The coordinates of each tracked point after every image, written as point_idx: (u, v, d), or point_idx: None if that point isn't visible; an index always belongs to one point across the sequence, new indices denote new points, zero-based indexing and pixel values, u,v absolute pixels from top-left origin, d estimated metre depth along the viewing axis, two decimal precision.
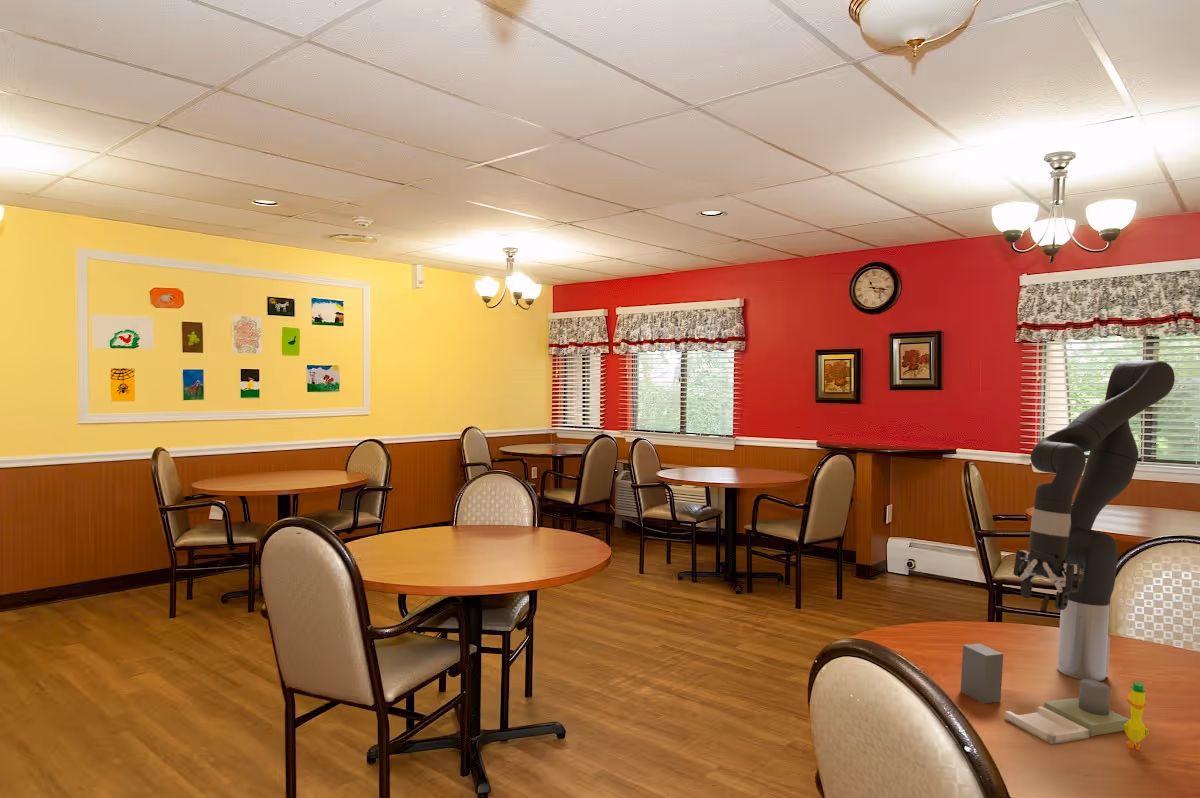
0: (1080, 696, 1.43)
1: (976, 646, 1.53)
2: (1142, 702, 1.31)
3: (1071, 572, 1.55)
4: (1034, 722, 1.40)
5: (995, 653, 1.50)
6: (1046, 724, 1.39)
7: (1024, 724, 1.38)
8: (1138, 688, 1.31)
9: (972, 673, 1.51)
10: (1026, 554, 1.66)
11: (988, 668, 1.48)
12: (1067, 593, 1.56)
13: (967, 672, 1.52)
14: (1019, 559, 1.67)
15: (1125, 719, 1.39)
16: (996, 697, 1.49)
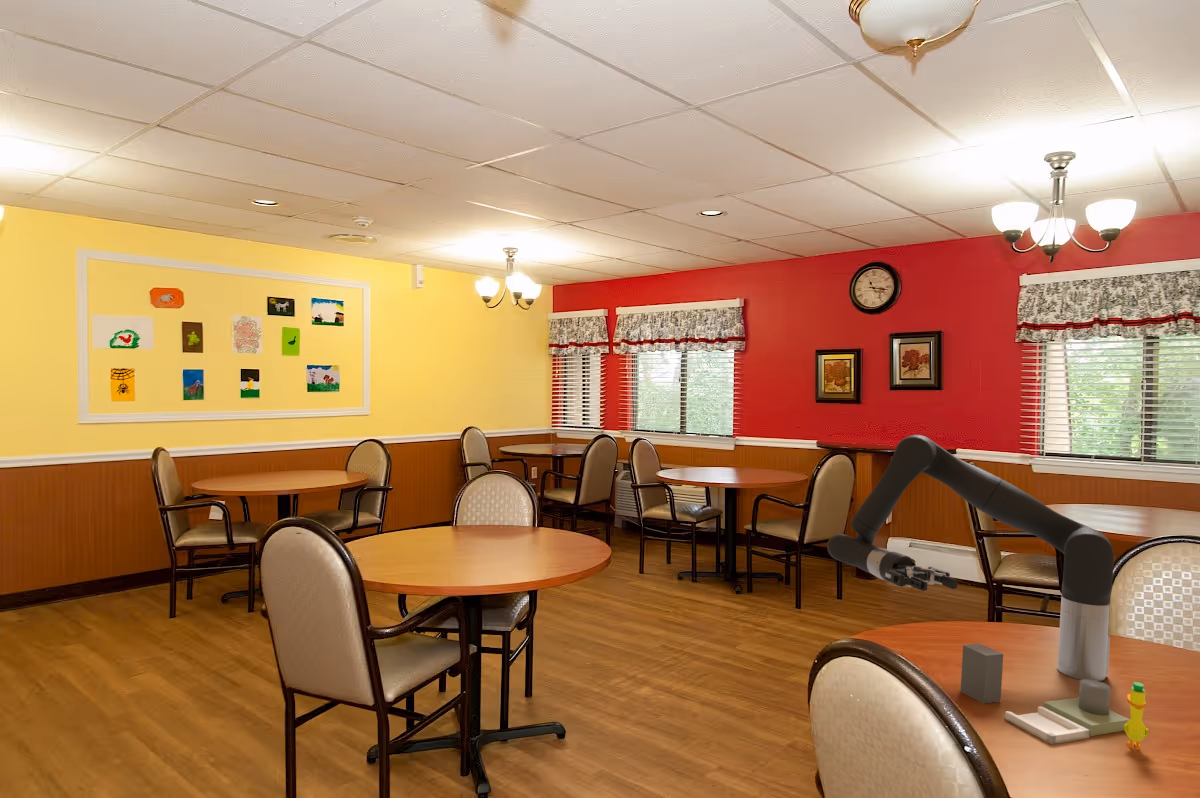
0: (1080, 696, 1.43)
1: (976, 646, 1.53)
2: (1142, 702, 1.31)
3: (889, 580, 1.69)
4: (1034, 722, 1.40)
5: (996, 653, 1.50)
6: (1046, 724, 1.39)
7: (1024, 724, 1.38)
8: (1138, 688, 1.31)
9: (972, 673, 1.51)
10: None
11: (988, 668, 1.48)
12: (909, 581, 1.64)
13: (967, 672, 1.52)
14: None
15: (1125, 719, 1.39)
16: (996, 697, 1.49)
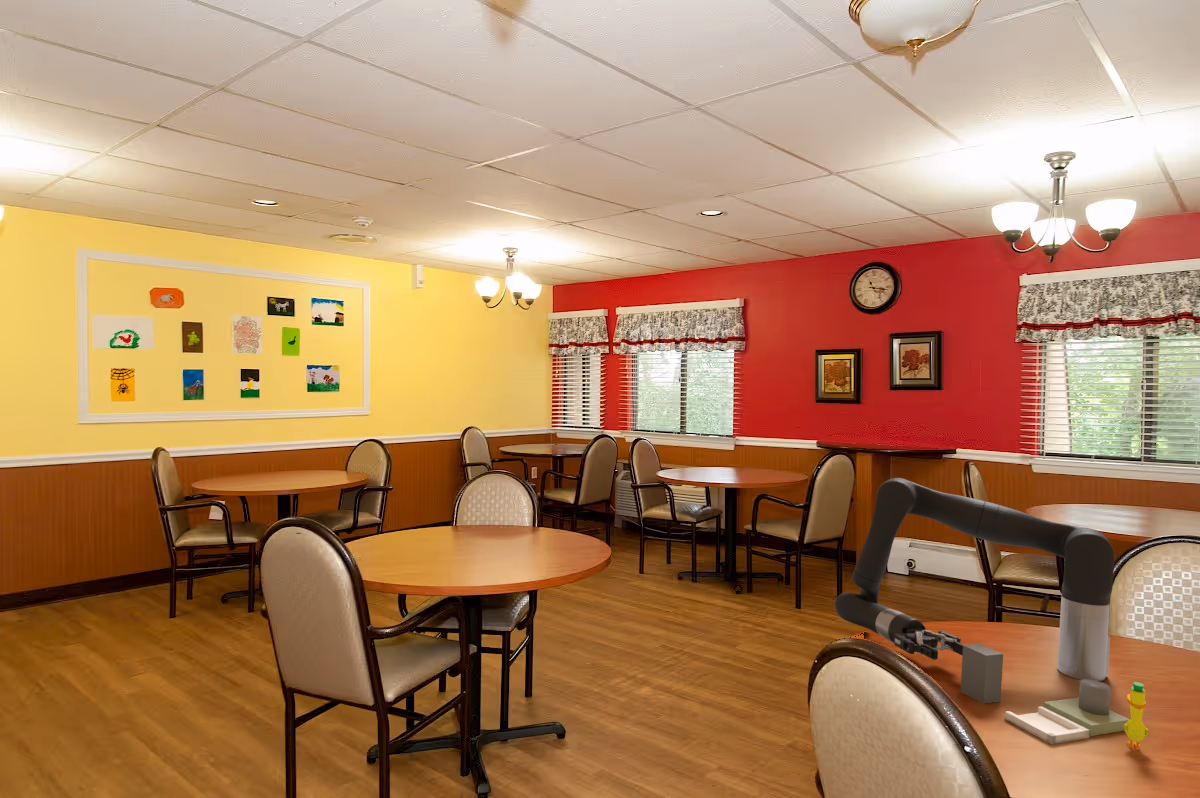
0: (1080, 696, 1.43)
1: (976, 646, 1.53)
2: (1142, 702, 1.31)
3: (898, 646, 1.65)
4: (1034, 722, 1.40)
5: (996, 653, 1.50)
6: (1046, 724, 1.39)
7: (1024, 724, 1.38)
8: (1138, 688, 1.31)
9: (972, 673, 1.51)
10: None
11: (988, 668, 1.48)
12: (919, 648, 1.61)
13: (967, 672, 1.52)
14: None
15: (1125, 719, 1.39)
16: (996, 697, 1.49)
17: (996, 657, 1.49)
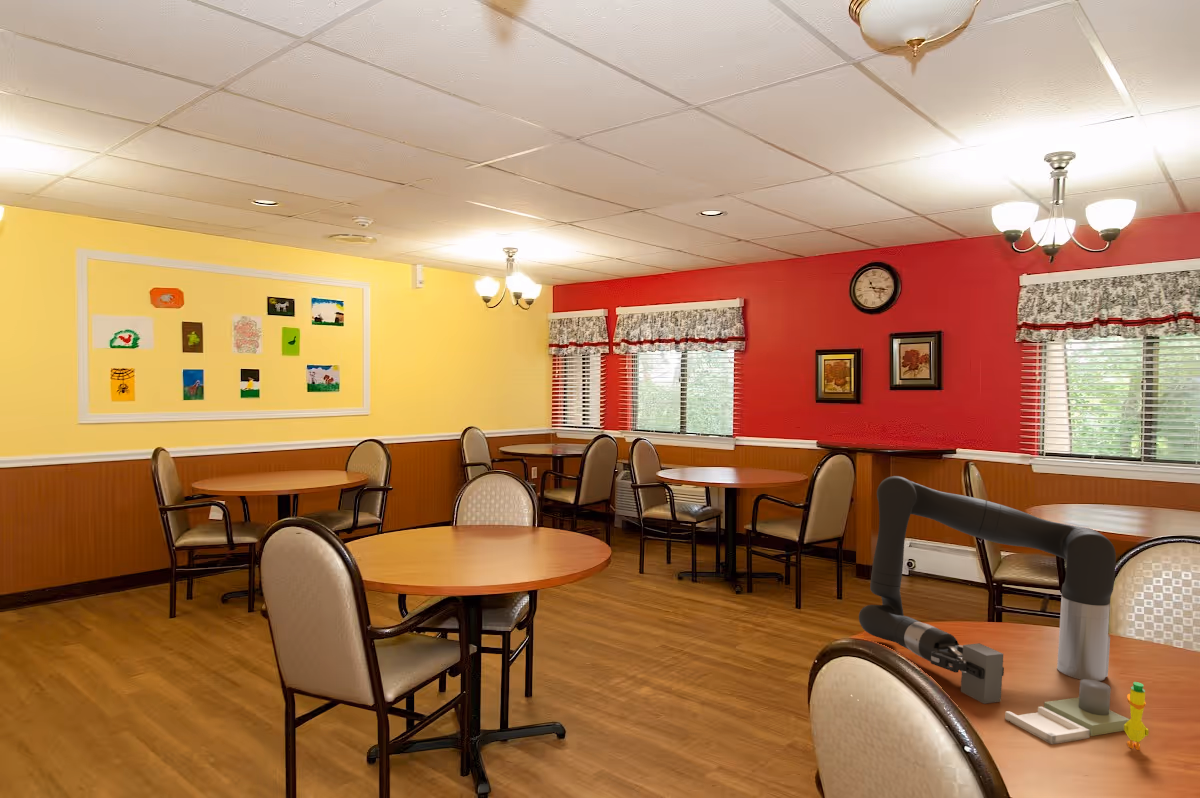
0: (1080, 696, 1.43)
1: (976, 646, 1.53)
2: (1142, 702, 1.31)
3: (937, 665, 1.55)
4: (1034, 722, 1.40)
5: (996, 653, 1.50)
6: (1046, 724, 1.39)
7: (1024, 724, 1.38)
8: (1138, 688, 1.31)
9: None
10: None
11: (988, 668, 1.48)
12: (964, 666, 1.51)
13: None
14: None
15: (1125, 719, 1.39)
16: (996, 697, 1.49)
17: (996, 657, 1.49)
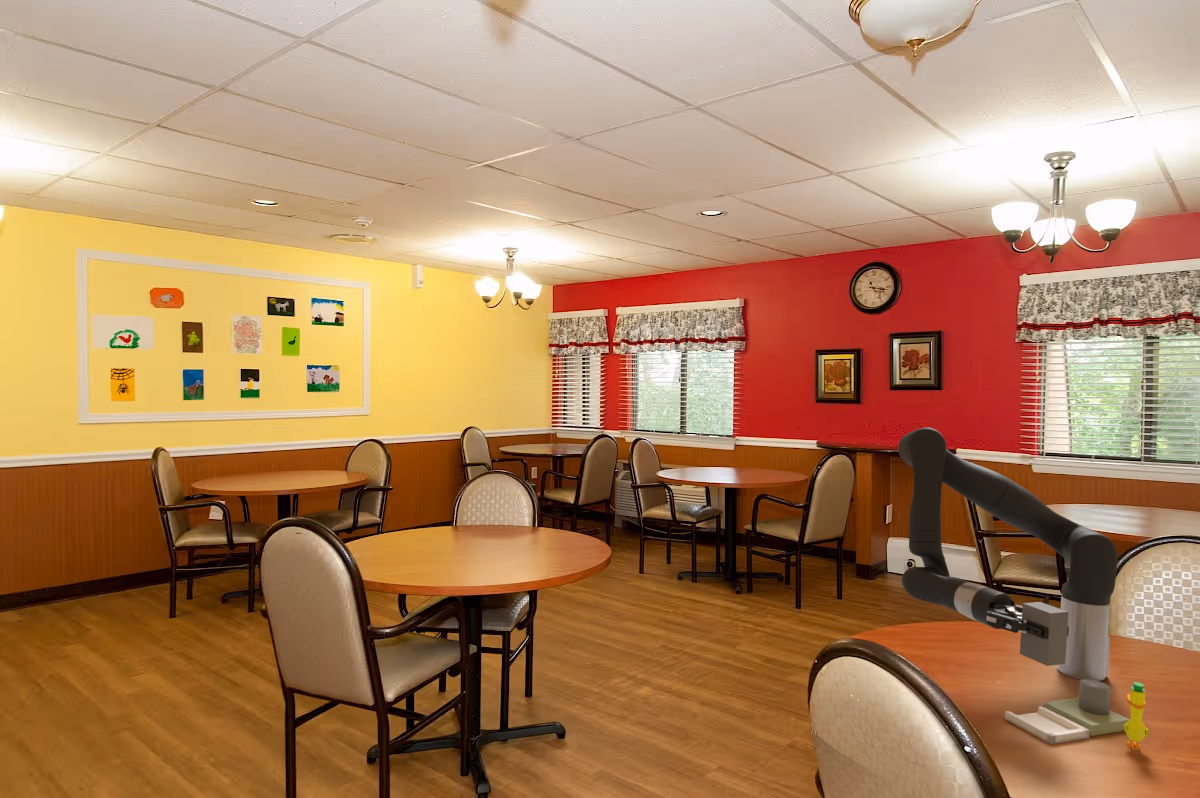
0: (1080, 696, 1.43)
1: (1037, 604, 1.41)
2: (1142, 702, 1.31)
3: (994, 625, 1.43)
4: (1034, 722, 1.40)
5: (1060, 611, 1.37)
6: (1046, 724, 1.39)
7: (1024, 724, 1.38)
8: (1138, 688, 1.31)
9: None
10: None
11: (1052, 627, 1.36)
12: (1024, 626, 1.39)
13: None
14: None
15: (1125, 719, 1.39)
16: (1060, 659, 1.37)
17: (1061, 615, 1.36)
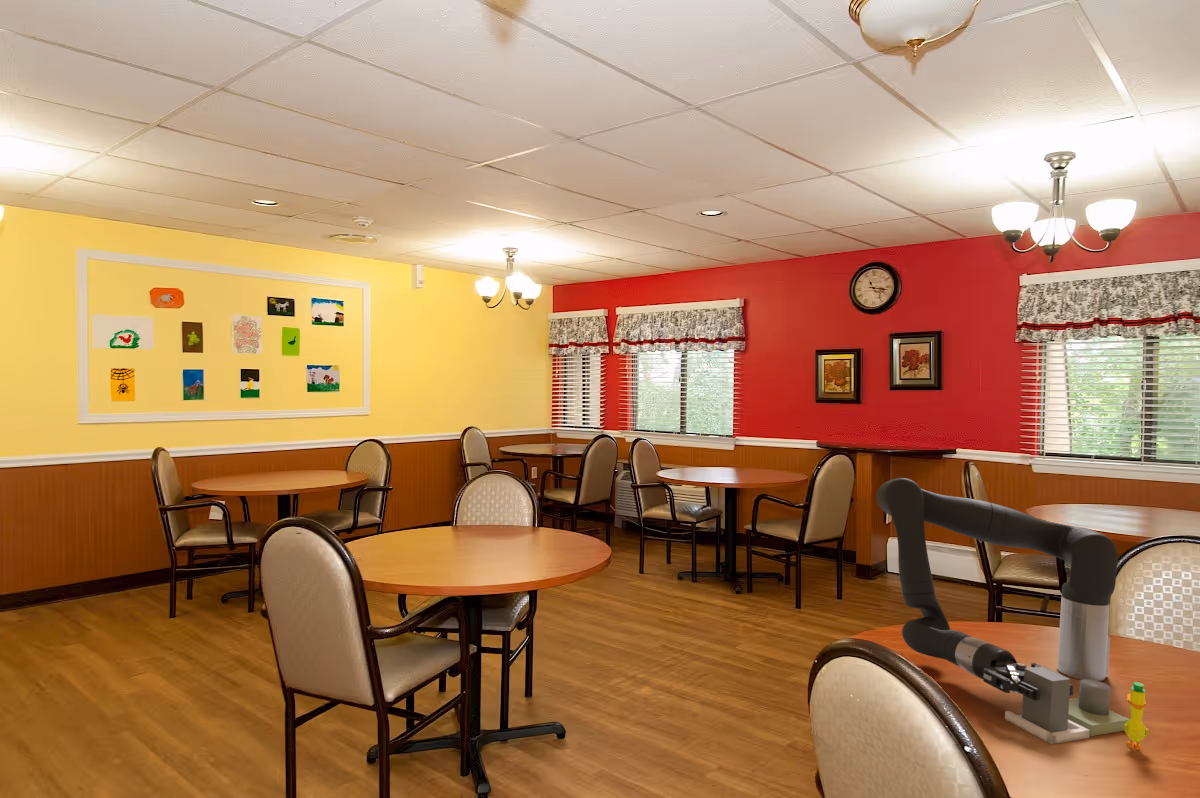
0: (1080, 696, 1.43)
1: (1039, 670, 1.40)
2: (1142, 702, 1.31)
3: (989, 683, 1.43)
4: None
5: (1062, 678, 1.37)
6: None
7: (1024, 724, 1.38)
8: (1138, 688, 1.31)
9: None
10: None
11: (1054, 695, 1.35)
12: (1016, 686, 1.39)
13: (1029, 698, 1.40)
14: None
15: (1125, 719, 1.39)
16: (1063, 726, 1.36)
17: (1063, 683, 1.36)
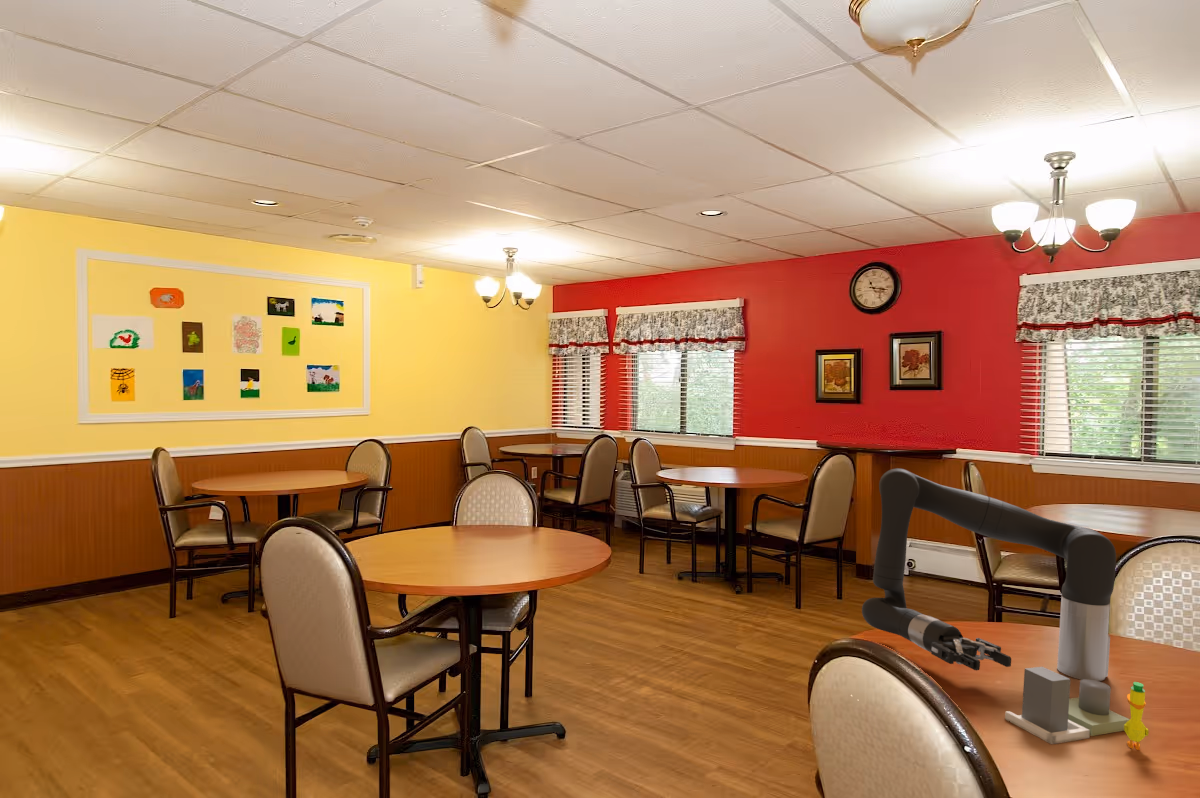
0: (1080, 696, 1.43)
1: (1039, 670, 1.40)
2: (1142, 702, 1.31)
3: (935, 655, 1.56)
4: None
5: (1062, 678, 1.37)
6: None
7: (1024, 724, 1.38)
8: (1138, 688, 1.31)
9: (1035, 699, 1.38)
10: None
11: (1054, 695, 1.35)
12: (959, 658, 1.52)
13: (1029, 698, 1.40)
14: None
15: (1125, 719, 1.39)
16: (1063, 726, 1.36)
17: (1063, 683, 1.36)
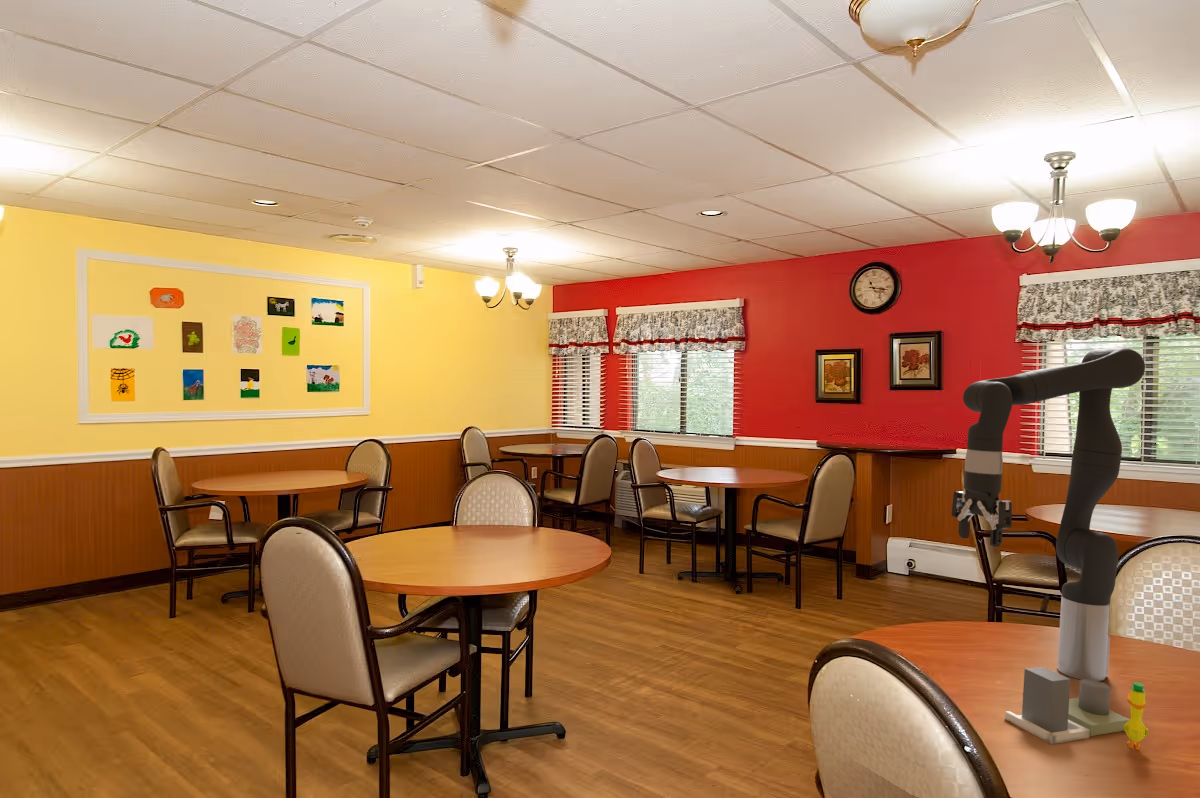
0: (1080, 696, 1.43)
1: (1039, 670, 1.40)
2: (1142, 702, 1.31)
3: (1003, 509, 1.56)
4: None
5: (1062, 678, 1.37)
6: None
7: (1024, 724, 1.38)
8: (1138, 688, 1.31)
9: (1035, 699, 1.38)
10: (962, 495, 1.67)
11: (1054, 695, 1.35)
12: (1001, 530, 1.58)
13: (1029, 698, 1.40)
14: (956, 500, 1.68)
15: (1125, 719, 1.39)
16: (1063, 726, 1.36)
17: (1063, 683, 1.36)
